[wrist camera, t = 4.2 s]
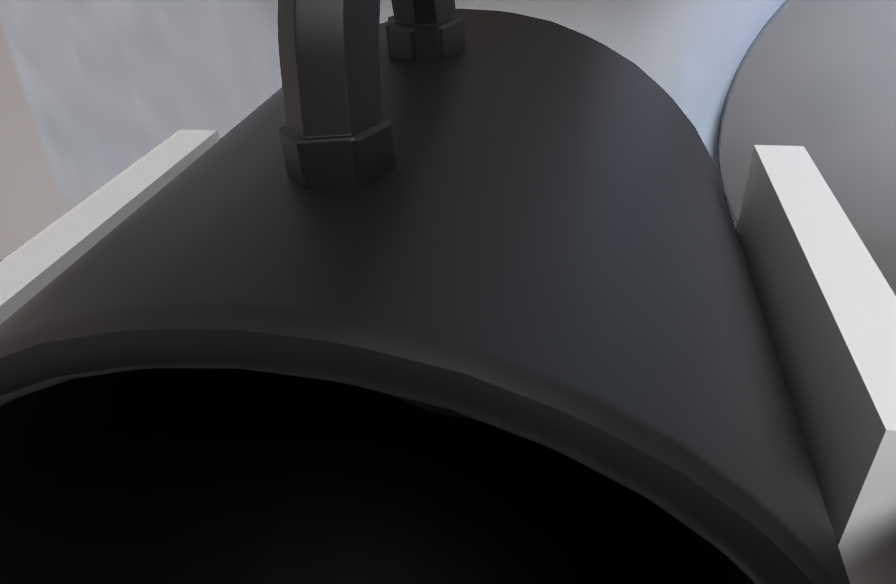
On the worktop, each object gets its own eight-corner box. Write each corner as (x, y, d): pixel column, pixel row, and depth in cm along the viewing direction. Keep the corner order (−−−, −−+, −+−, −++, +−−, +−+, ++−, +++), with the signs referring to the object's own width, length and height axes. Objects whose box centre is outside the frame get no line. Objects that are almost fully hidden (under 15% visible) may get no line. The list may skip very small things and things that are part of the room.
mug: (805, -214, 9) (1580, -337, 2) (691, 439, 16) (770, 978, 9) (159, -162, 11) (-731, -123, 4) (297, 407, 18) (77, 832, 10)
